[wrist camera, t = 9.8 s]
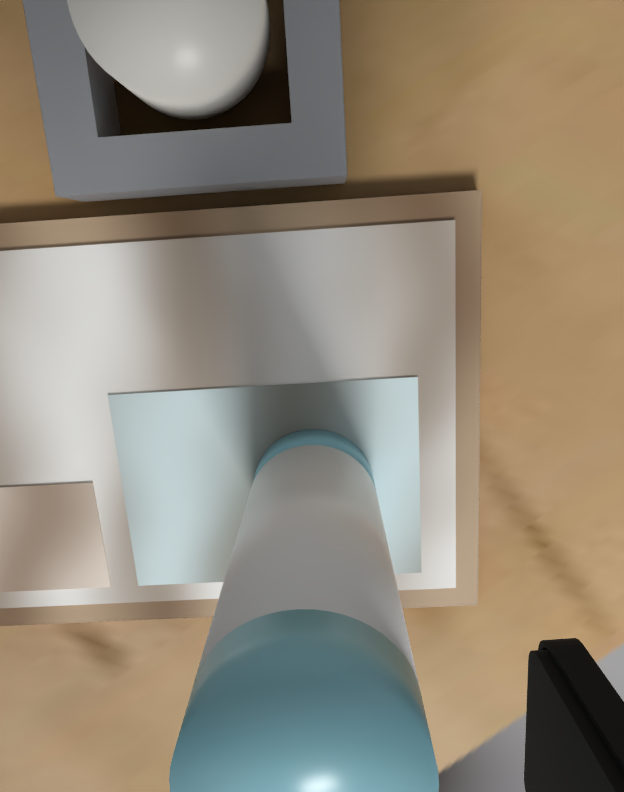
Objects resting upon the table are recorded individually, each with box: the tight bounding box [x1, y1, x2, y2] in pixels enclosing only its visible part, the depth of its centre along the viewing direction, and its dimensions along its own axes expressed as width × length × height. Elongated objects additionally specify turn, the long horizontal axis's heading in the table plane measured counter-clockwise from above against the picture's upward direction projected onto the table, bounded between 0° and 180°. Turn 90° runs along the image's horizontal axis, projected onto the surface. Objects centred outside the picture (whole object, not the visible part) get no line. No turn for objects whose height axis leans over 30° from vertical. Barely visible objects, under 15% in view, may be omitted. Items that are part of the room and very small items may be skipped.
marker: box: [169, 429, 439, 792], centre depth 14 cm, size 4×4×11 cm
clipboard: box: [0, 190, 482, 626], centre depth 19 cm, size 20×14×1 cm
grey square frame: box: [23, 0, 347, 202], centre depth 15 cm, size 8×8×2 cm
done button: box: [67, 0, 271, 120], centre depth 14 cm, size 4×4×2 cm
